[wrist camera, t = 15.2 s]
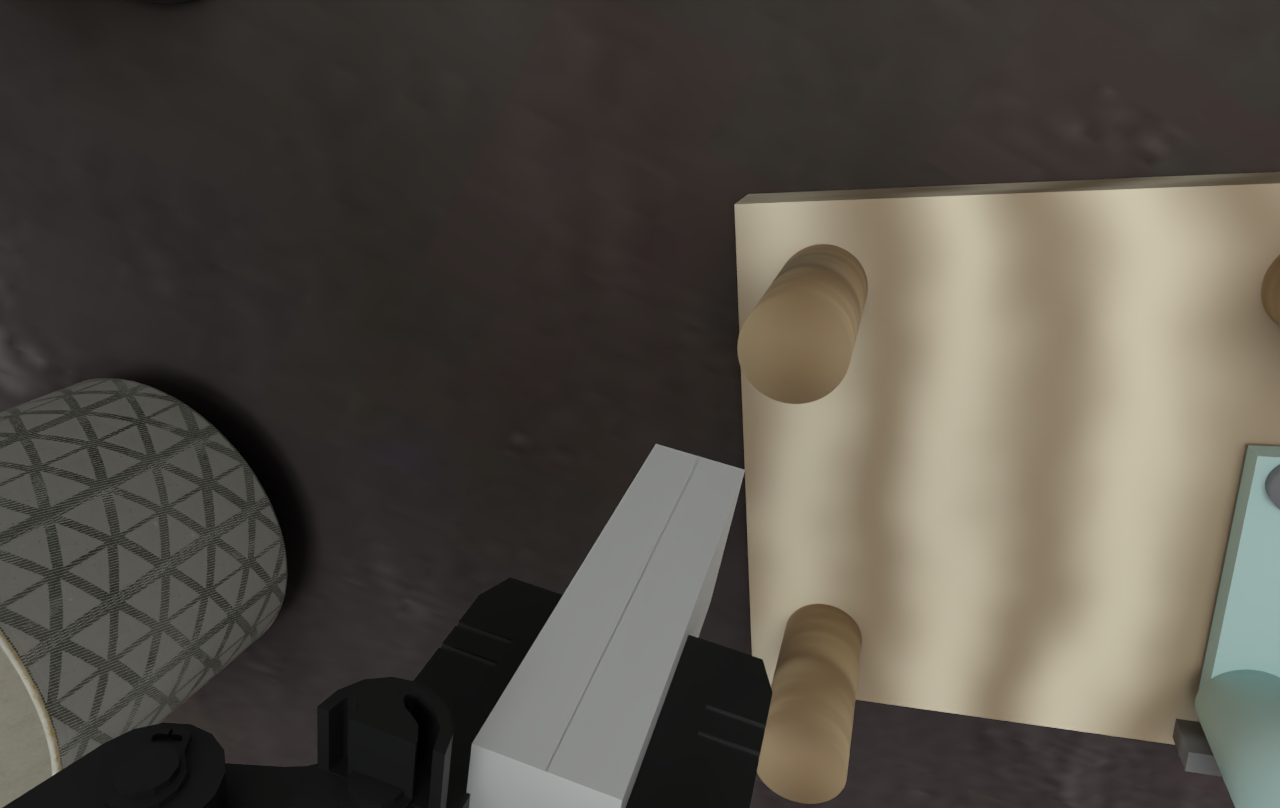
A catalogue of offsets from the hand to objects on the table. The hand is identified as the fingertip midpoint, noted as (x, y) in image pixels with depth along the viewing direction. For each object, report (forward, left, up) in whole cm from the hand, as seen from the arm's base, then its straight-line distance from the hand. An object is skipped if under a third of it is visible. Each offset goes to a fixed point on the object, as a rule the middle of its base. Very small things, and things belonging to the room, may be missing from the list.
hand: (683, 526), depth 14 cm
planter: (-41, -16, -26) cm, 51 cm away
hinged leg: (+17, -14, -22) cm, 31 cm away
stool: (+8, -10, -25) cm, 29 cm away
